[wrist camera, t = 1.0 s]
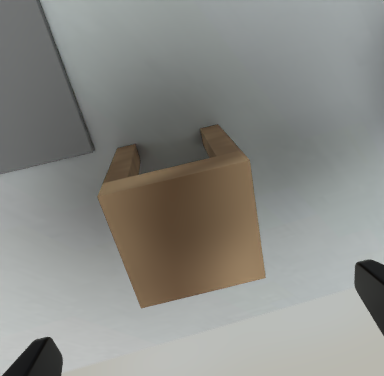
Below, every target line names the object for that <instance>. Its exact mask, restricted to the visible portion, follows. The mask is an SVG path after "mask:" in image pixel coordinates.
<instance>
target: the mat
mask: <svg viewBox="0 0 384 376" xmlns="http://www.w3.org/2000/svg"><path fill="white" fill-rule="evenodd" d="M93 151H94V148H93V145H92V142H91V140H90V137H89V134H88V132H87V129H86V126H85V124H84V121H83V118H82V115H81V113H80V110H79V107H78V105H77V102H76V99H75V96H74V94H73V91H72V88H71V86H70V83H69V80H68V78H67V75H66V72H65V69H64V67H63V64H62V61H61V59H60V56H59V53H58V50H57V48H56V45H55V42H54V40H53V37H52V34H51V32H50V29H49V26H48V23H47V21H46V18H45V15H44V13H43V10H42V7H41V4H40V2H39V0H0V174H3V173H7V172H11V171H16V170H20V169H24V168H28V167H32V166H37V165H41V164H45V163H49V162H54V161H58V160H62V159H66V158H70V157H75V156H79V155H83V154H87V153H91V152H93Z"/></svg>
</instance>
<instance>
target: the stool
mask: <svg viewBox="0 0 384 376" xmlns="http://www.w3.org/2000/svg"><path fill="white" fill-rule="evenodd" d="M200 130H201V135H202V140H203V145H204V148H205V150H206V151H207V153H208V155H209V157H210V158H207V159H203V160H199V161H195V162H190V163H186V164H182V165H178V166H174V167H169V168H165V169H161V170H157V171H153V172H148V173H144V174H140V175H139V168H140V158H139V154H138V151H137V148H136V144H133V145H129V146H125V147H120V148H117V150H116V153H115V155H114V157H113V160H112V162H111V165H110V167H109V170H108V172H107V174H106V177H105V179H104V182H103V184H102V187H101V189H100V191H99V194H98V196H97V197H98V200H99V202H100V205H101V208H102V210H103V213H104V215H105V218H106V220H107V223H108V225H109V228H110V230H111V233H112V235H113V238H114V241H115V243H116V246H117V248H118V251H119V253H120V256H121V258H122V261H123V263H124V266H125V269H126V271H127V274H128V276H129V279H130V281H131V284H132V286H133V289H134V291H135V294H136V296H137V299H138V302H139V304H140V307H141V308H145V307H149V306H153V305H157V304H161V303H165V302H169V301H173V300H177V299H181V298H186V297H190V296H194V295H198V294H202V293H206V292H210V291H214V290H218V289H222V288H226V287H230V286H235V285H239V284H243V283H247V282H251V281H255V280H259V279H263V278H266V277H265V270H264V262H263V255H262V247H261V240H260V233H259V225H258V218H257V210H256V203H255V195H254V188H253V180H252V173H251V165H250V160H249V159H248V158H247V156H246V155H245V154H244V153H243V152H242V151H241V150H240V149H239V147H238V146H237V145H236V144H235V143H234V142H233V141H232V140H231V138H230V137H229V136H228V135H227V134H226V133H225V132H224V130H223V129H222V128H221V127H220V126H219V125H218V124H217V125H213V126H209V127H205V128H200Z"/></svg>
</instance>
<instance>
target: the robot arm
mask: <svg viewBox="0 0 384 376" xmlns="http://www.w3.org/2000/svg"><path fill="white" fill-rule="evenodd" d="M354 284H355V288H356V290H357V292H358V294H359V296H360V297H361V299H362V301H363V302H364V304H365V306H366V307H367V309H368V311H369V312H370V314H371V316H372V317H373V319H374V321H375V322H376V324H377V326H378V327H379V329H380V330H381V332H382V334H383V335H384V265H383V264H381V263H378V262H376V261H374V260H364V261H360V262H357V263H356V265H355V280H354ZM62 365H63V358H62V354H61V352H60V351H59V349H58V348H57V346H56V344H55V343H54V341H53V339H52V338H50V337H44V338H40V339H36V340H34V341H33V342H32V343H31V344H30V345H29V346H28V348H27V349H26V350H25V351H24V352H23V353H22V354H21V355H20V356H19V357H18V359H17V360H16V361H15V362H14V363H13V364H12V365H11V366H10V367H9V369H8V370H7V371H6V372H5V373H4V374H3V375H2V376H61V372H62Z"/></svg>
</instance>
